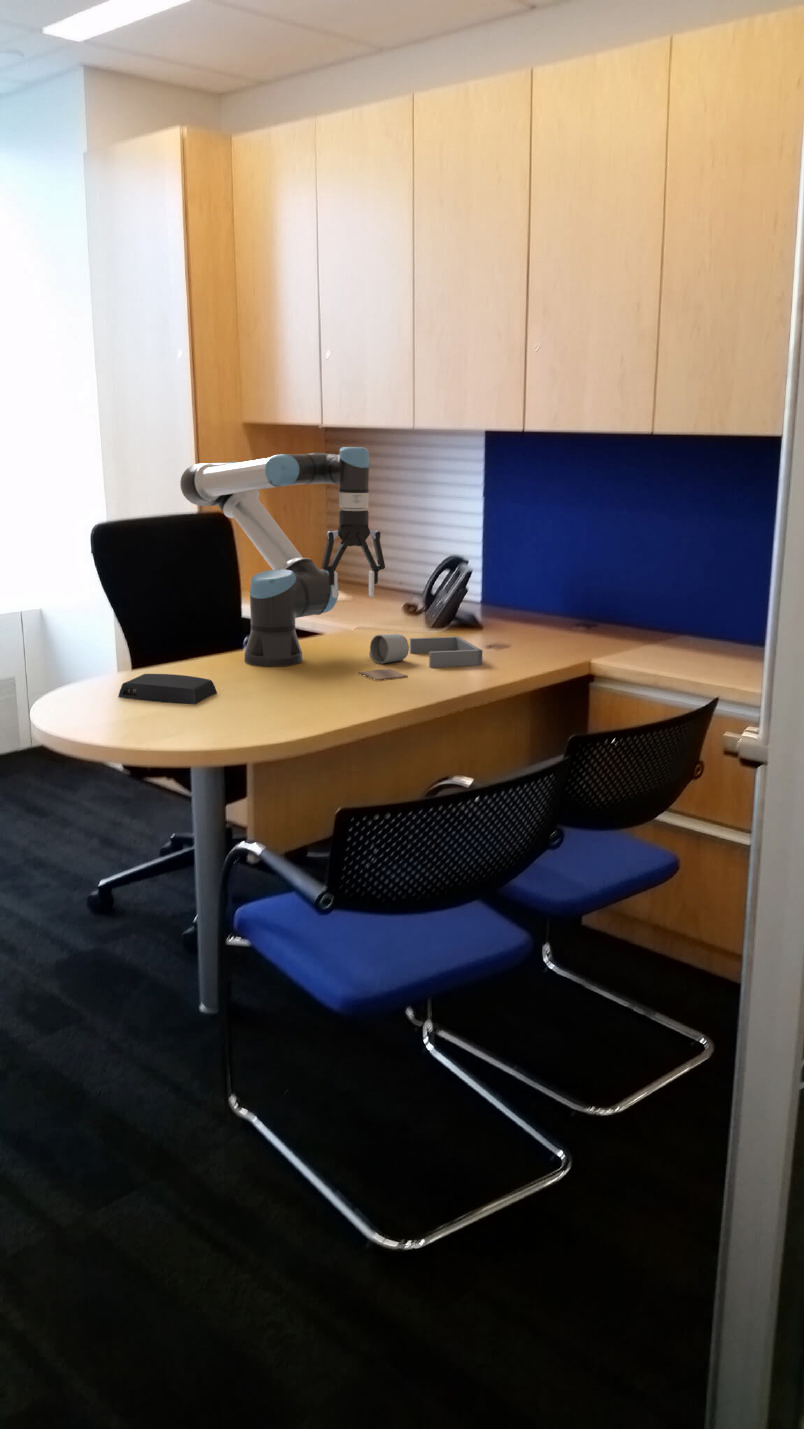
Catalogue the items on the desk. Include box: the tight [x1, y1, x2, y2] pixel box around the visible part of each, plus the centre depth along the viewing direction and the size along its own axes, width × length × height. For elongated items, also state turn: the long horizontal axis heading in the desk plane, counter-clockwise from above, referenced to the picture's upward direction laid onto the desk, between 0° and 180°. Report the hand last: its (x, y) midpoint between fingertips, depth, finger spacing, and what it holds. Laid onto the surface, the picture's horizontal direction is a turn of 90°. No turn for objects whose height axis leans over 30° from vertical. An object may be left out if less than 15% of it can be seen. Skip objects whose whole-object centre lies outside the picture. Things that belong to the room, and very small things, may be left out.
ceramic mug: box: [368, 633, 410, 665], centre depth 304 cm, size 11×8×8 cm
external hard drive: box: [117, 673, 218, 706], centre depth 264 cm, size 13×19×4 cm
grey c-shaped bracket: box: [409, 636, 483, 668], centre depth 308 cm, size 14×19×4 cm
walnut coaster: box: [358, 668, 408, 681], centre depth 288 cm, size 9×9×1 cm
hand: (353, 596), depth 297 cm, fingers open, 9 cm apart
